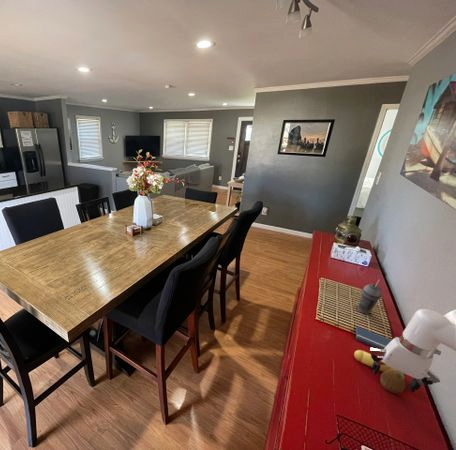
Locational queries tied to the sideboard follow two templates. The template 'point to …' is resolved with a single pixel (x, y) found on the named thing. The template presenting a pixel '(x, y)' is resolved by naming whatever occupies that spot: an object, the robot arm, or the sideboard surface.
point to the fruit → (393, 381)
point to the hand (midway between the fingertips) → (392, 379)
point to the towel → (371, 338)
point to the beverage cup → (369, 297)
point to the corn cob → (372, 361)
